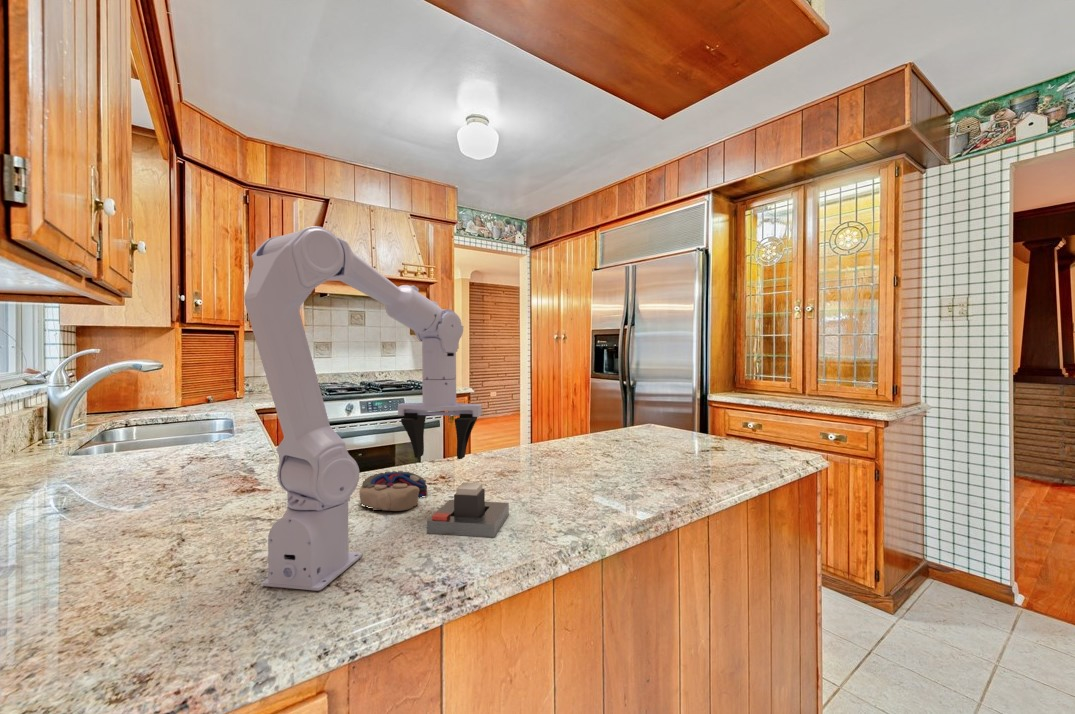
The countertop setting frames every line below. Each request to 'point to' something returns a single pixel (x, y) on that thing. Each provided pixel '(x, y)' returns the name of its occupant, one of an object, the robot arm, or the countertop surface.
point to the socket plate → (468, 521)
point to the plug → (469, 500)
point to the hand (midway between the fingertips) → (439, 457)
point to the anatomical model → (392, 491)
